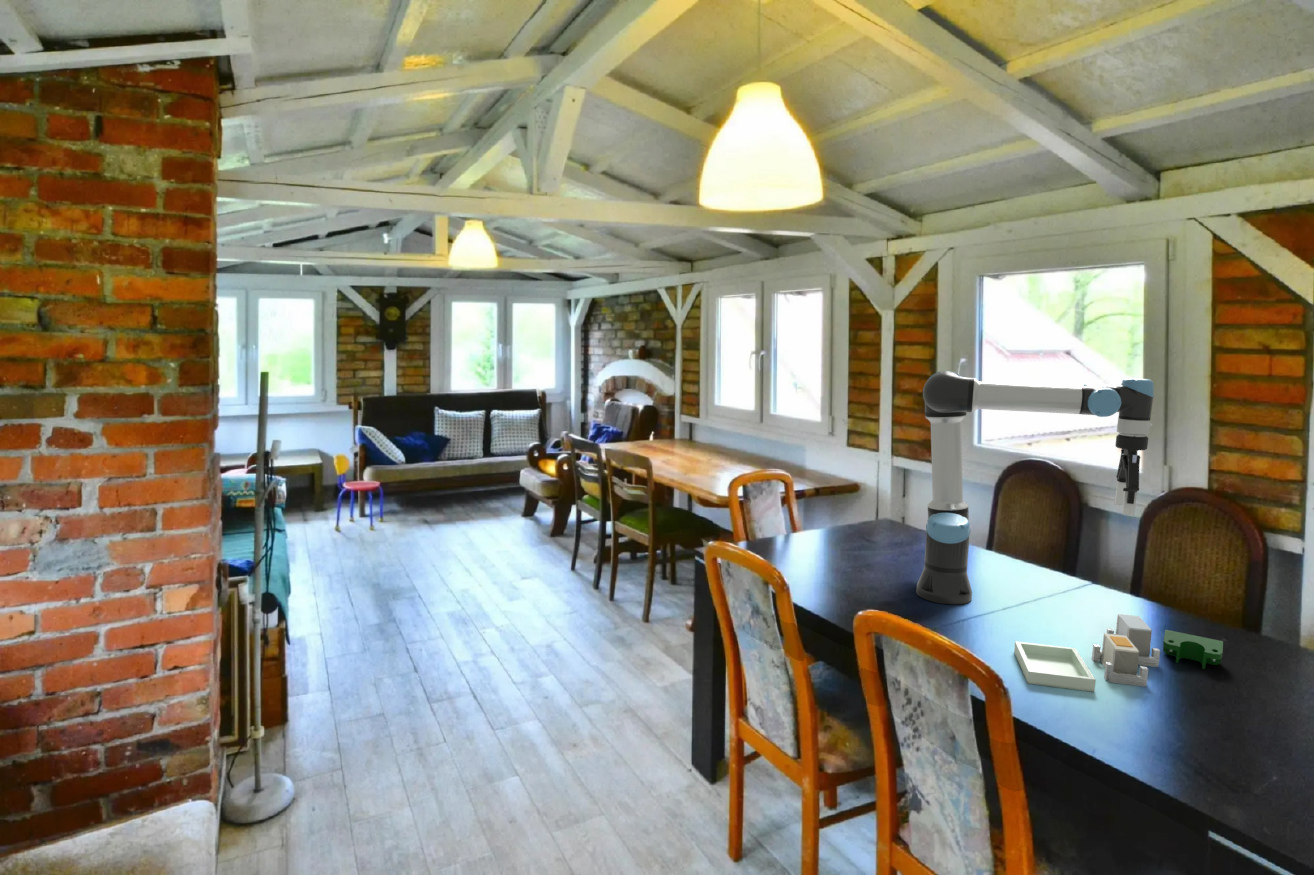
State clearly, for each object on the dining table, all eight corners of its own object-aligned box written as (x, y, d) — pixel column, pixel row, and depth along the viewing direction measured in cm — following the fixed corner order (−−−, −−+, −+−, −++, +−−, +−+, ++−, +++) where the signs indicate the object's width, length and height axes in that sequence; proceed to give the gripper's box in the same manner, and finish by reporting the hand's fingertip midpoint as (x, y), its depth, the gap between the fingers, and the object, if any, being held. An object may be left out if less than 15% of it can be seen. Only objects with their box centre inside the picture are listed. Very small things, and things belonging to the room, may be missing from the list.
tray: (1027, 683, 164) (1028, 671, 163) (1014, 652, 180) (1015, 641, 179) (1094, 692, 160) (1095, 679, 160) (1074, 659, 176) (1075, 648, 176)
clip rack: (1107, 682, 165) (1108, 666, 164) (1077, 637, 189) (1079, 623, 189) (1180, 691, 161) (1181, 675, 160) (1140, 644, 185) (1141, 630, 185)
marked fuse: (1112, 678, 167) (1115, 647, 166) (1101, 661, 175) (1104, 632, 174) (1136, 681, 165) (1139, 650, 164) (1123, 664, 174) (1126, 634, 173)
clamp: (1169, 677, 177) (1154, 643, 177) (1171, 663, 182) (1157, 630, 181) (1230, 673, 169) (1214, 638, 169) (1231, 659, 174) (1215, 624, 173)
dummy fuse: (1126, 660, 176) (1129, 627, 175) (1114, 645, 185) (1117, 614, 184) (1148, 662, 175) (1152, 629, 174) (1135, 647, 184) (1139, 616, 183)
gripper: (1157, 441, 194) (1148, 521, 197) (1140, 430, 217) (1132, 502, 220) (1123, 439, 197) (1115, 517, 200) (1110, 428, 220) (1102, 499, 223)
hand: (1124, 509), depth 210 cm, fingers open, 13 cm apart
